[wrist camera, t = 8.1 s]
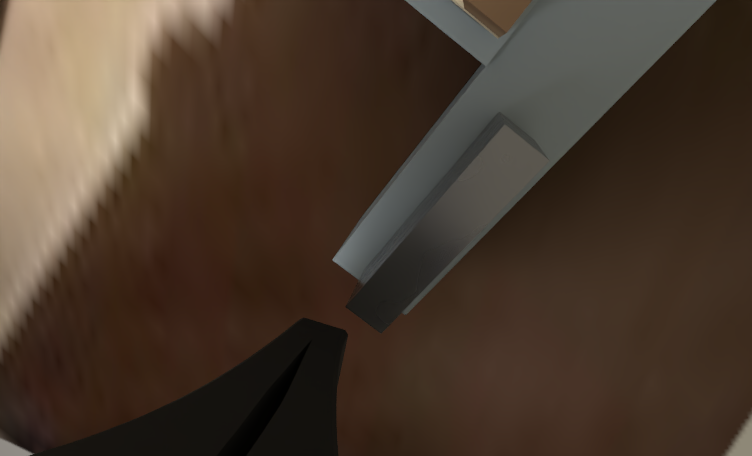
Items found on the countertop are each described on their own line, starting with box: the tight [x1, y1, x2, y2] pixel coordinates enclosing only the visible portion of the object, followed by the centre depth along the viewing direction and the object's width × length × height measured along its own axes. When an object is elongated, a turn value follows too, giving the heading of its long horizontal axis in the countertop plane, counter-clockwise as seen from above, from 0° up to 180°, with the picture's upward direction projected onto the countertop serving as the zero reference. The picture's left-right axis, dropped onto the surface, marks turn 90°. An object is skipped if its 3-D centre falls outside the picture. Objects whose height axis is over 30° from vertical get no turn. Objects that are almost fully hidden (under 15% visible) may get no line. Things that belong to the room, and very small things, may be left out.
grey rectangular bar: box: [346, 112, 550, 333], centre depth 9 cm, size 1×5×2 cm, turn 144°
